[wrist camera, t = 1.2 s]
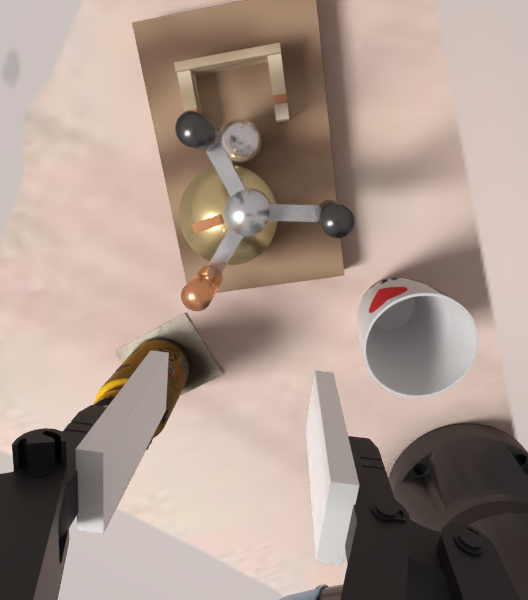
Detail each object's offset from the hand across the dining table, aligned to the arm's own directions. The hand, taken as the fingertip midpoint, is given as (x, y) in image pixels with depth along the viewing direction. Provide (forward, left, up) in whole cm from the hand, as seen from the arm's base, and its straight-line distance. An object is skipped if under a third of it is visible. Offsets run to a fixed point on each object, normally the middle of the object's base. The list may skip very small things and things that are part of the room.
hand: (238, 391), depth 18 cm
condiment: (-8, +11, -23) cm, 27 cm away
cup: (-5, -11, -23) cm, 26 cm away
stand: (+10, 0, -23) cm, 25 cm away
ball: (+11, 0, -21) cm, 24 cm away
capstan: (+7, 0, -21) cm, 22 cm away
